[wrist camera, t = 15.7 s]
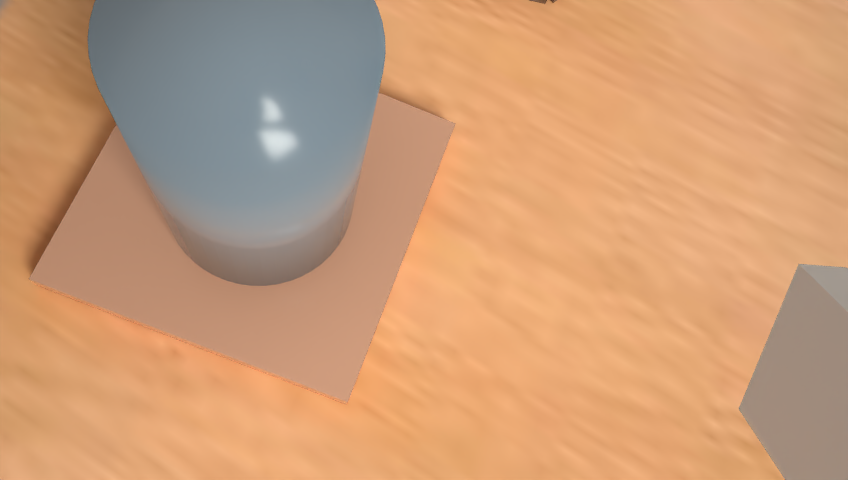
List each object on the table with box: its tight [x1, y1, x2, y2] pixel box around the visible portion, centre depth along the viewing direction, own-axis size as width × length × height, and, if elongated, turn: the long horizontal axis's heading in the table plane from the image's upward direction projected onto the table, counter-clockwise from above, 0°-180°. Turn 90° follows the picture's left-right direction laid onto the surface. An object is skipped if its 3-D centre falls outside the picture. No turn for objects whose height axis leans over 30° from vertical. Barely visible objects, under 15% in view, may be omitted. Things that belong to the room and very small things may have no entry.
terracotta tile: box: [29, 92, 455, 404], centre depth 32 cm, size 13×13×1 cm
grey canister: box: [88, 0, 385, 286], centre depth 26 cm, size 10×8×12 cm
